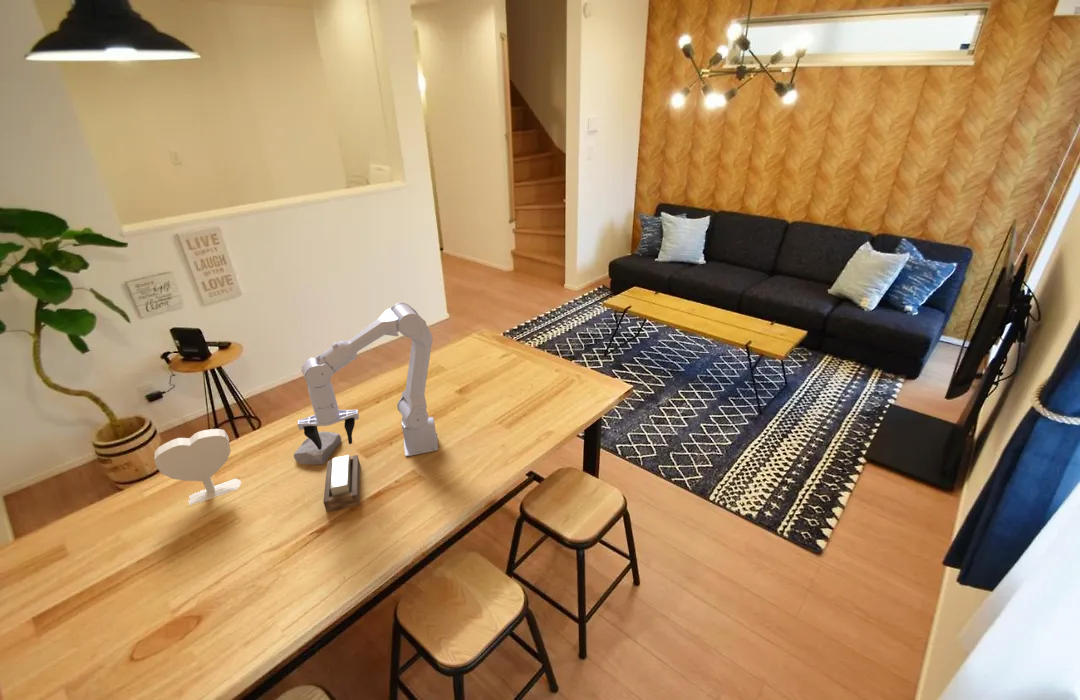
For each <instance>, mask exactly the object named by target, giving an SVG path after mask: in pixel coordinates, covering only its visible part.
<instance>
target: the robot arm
mask: <svg viewBox="0 0 1080 700" xmlns="http://www.w3.org/2000/svg"><path fill="white" fill-rule="evenodd" d="M399 333H400V334H401V335H402V336H404V337H406V338H409V339H411V345H410V346H411V347H410V352H409V353H410V354H409V359H408V360H409V361H408V370H407V377H406V383H405V384H406V386H405V390H403V391H402V392H401V396H400V399H399V400H398V402H397V405H396V406H397V410H398V412H399V413H400V414H401V416H402V417H401V421H400V423H401V424H400V425H401V429H402V435H403V446H404V456H405V457H411V456H416V455H421V454H427V453H432V452H437V451H439V444H438V439H439V437H438V432H437V431H436V423H435V420H434V417H433V416H429V413H428V411H427V407H428V405H427V401H426V397H425V396H426V394H425V393H426V386H427V385H426V383H427V377H428V372H429V365H430V358H431V351H432V345H433V334H432V331H431V330H430V328H429V326H428V324H427V321H426V320H425V319H424V318H422V317H421V316H420V315H419V313H418V312H417V310H415V309H414V308H413V307H412V306H411V305H409V303H405V302H397V303H395V304H393V305H392V306H391V307H390V308H387V309H386V310H384V312H383V313H382V314H381V315H380V316H379V317H378V318H376V319H375V320H374V321H373V322H371V323H369V325H367V326H366V327H365V328H363V329H362V330H361V331H360V332H358V333H357V334H356V335H355V336H353V337H351V339H348V340H344V339H343V340H339V341H338V342H337V341H334V342H333V343H331V347H329V348H327V349H326V350H325V351H323V352H322V353H320V354H316V355H315V356H314V357H309V358H308V359H307V360H305V361H304V362H303V365H302V366H301V370H300V371H301V372H302V375H303V377H304V381H305V382H306V386H307V388H308V389H307V392H308V395H309V398H310V403H311V406H312V409H313V412H314V414H313V415H311V416H308V417H307V416H306V417H305V418H299V419H298V420H297V427H298V430H299V431H302V430H303V434H304V436H305V437H307V438H309V439H311V440H312V441H313V442H314V444H315V445H316V446H317V448H318V450H321V448H322V443H321V439H320V437H319V434H318V432H319V430H318V427H327V426H332V425H334V424H337V423H340V422H343V421H344V430H345V432H346V435H347V441H348V444H349V445H352V444H353V430H354V428H355V424H356V423H355V422H356V421H357V420H359V418H360V414H359V409H339V405H338V402H337V401H338V400H337V398H336V394H335V389H334V386H333V384H332V382H331V380H332V377H333V376H334V375H335V374H336V373H337V372H338V371H340V370H342V368H345V367H346V366H347V365H348V364H350V363H351V362H353V361H354V360H355V359H356V358H357V354H358V352H359V351H361V350H362V349H364V348H366V347H367V346H369V345H370V344H372V343H374V342H375V341H377V340H378V339H381V338H382V337H384V336H391V337H399Z"/></svg>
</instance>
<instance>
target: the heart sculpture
mask: <svg viewBox="0 0 1080 700" xmlns="http://www.w3.org/2000/svg"><path fill="white" fill-rule="evenodd" d="M231 450H232V449H231V444H230V438H229V435H228V434H227V432H226V431H225V429H221V428H211V429H203V430H200V431H197V432H195V433H194V434H193V435H191V436H190V437H176V438H173V439H171V440H169V441H167V442H165V443H163V444H162V445H160V446H159V447H157V449H155V451H154V464H155V467H156V469H157V470H158V471H159V472H160V473H161V474H162V475H164V476H166V477H168V478H171V479H172V480H179V481H185V482H202V484H203V486H204V489H205V490H204V489H201V490H199V491H200V492H199V491H196V492H197V493H196V492H194V494H193V493H191V494H192V495H190V494H189V495H190V496H189V498H190V500H188V502H189V505H192V504H195V503H198V502H200V503H199V504H201V503H203V501H204V502H206V501H205V500H207V501H209V500H211V499H210V498H212V499H214V498H213V497H215V498H217V497H216V496H218V497H221V496H222V495H226V494H228V493H231V492H233V491H237V490H239V488H240V486H241V484H242V481H241V480H240V479H238V478H233V479H230V480H227V481H225V482H221V483H219V484H216V485H215V484H214V482H213V480H212V477H213V476H214V475H215V474H216V473H217V472H218V471H219V470H221V468H222V467H223V466H224V465H225V464H226V463H227V461H228V459H229V457H230V454H231ZM208 499H209V500H208Z"/></svg>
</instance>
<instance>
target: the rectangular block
mask: <svg viewBox="0 0 1080 700" xmlns="http://www.w3.org/2000/svg"><path fill="white" fill-rule="evenodd" d="M349 457H350V455H349V454H346V455H340V456H337V457H336V456H335V457H333V458H332V460H333V464H332V475H331V486H330V489H331V492H332V496H337V495H342V494H347V493H351V475H352V466H351V463H350V459H349Z"/></svg>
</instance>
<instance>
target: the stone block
mask: <svg viewBox="0 0 1080 700" xmlns="http://www.w3.org/2000/svg"><path fill="white" fill-rule="evenodd" d="M318 434H319V437H320V439H321V443H322V448H321V450H318V448H317V446H316V445H315V444H314V442H313V441H312V440H311V439H309V438H308V437H307V438H306V439H305V440H304V441H303V442H302V444H301V445H300V446H299V447H298V448H297V450H296V451H294V453H293V458H294V460H295V462H296V463H297V464H301V465H315V466H316V465H319V466H321V465H324V464H325V463H326V461H328V459H329V457H330V456H331V455H332V454H333V452H334V451H335V450H336V449H337V448H338V446H339V445H340V444H341V441H342V436H341V435H340V433H337V432H331V431H318Z"/></svg>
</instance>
